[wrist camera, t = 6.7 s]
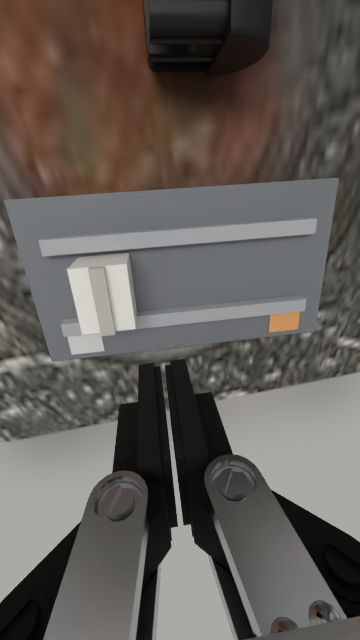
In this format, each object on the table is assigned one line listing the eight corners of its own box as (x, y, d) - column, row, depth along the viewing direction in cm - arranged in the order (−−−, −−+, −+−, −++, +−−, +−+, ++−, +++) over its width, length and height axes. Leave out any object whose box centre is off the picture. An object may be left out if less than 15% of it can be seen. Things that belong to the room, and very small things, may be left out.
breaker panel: (12, 199, 22) (-3, 200, 20) (328, 178, 24) (347, 177, 22) (56, 353, 28) (48, 367, 26) (307, 325, 30) (320, 336, 28)
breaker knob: (78, 256, 23) (64, 271, 18) (129, 252, 23) (125, 266, 19) (90, 314, 25) (80, 338, 21) (136, 309, 25) (135, 332, 21)
